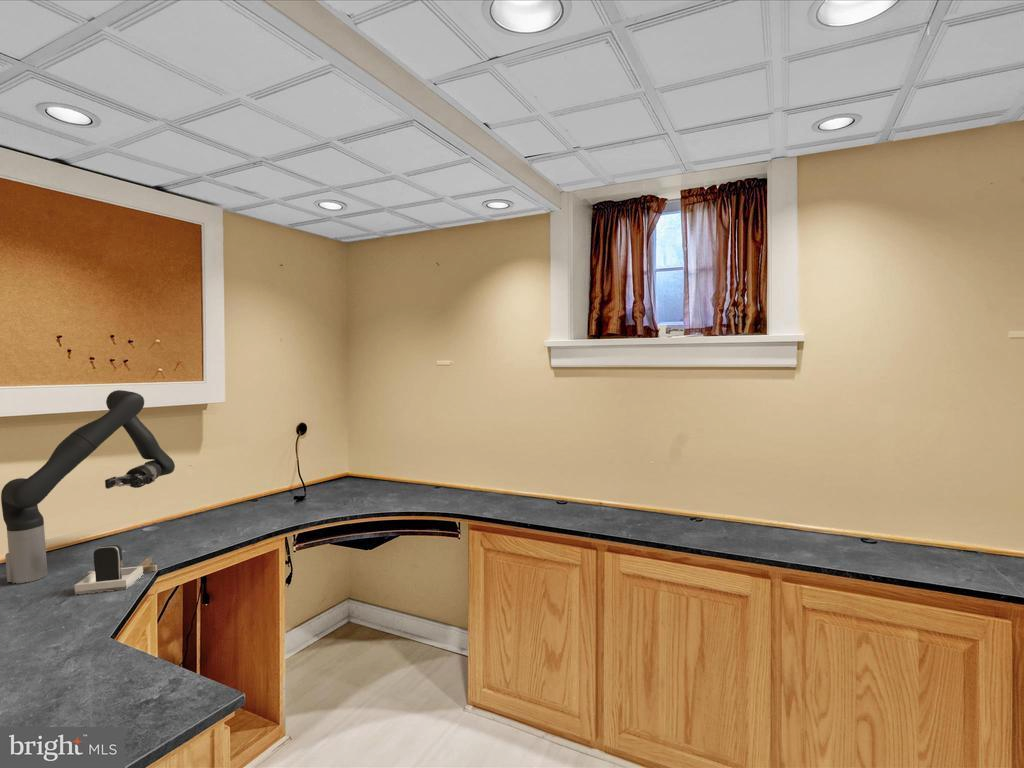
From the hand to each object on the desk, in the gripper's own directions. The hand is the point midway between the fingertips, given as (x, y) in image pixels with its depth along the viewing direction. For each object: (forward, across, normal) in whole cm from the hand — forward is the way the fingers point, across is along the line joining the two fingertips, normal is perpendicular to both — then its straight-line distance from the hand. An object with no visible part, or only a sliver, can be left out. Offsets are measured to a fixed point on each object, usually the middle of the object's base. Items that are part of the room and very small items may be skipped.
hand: (121, 484), depth 194 cm
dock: (+7, +4, +28) cm, 29 cm away
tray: (+20, +4, +28) cm, 35 cm away
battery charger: (+20, +4, +27) cm, 34 cm away
